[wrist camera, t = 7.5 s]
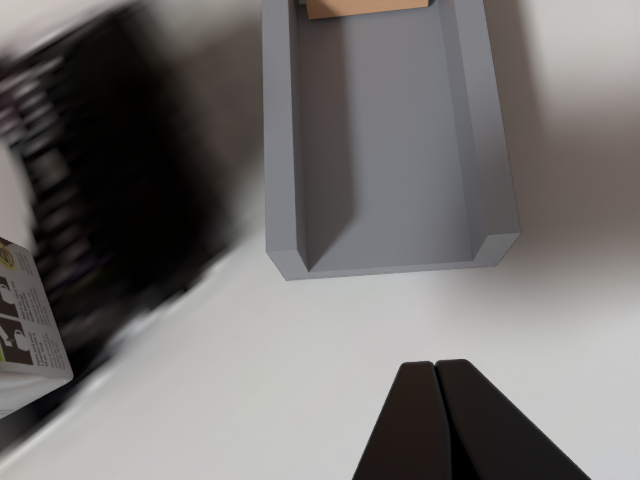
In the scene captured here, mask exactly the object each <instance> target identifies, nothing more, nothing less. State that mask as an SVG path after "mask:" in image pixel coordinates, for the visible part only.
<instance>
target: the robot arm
mask: <svg viewBox="0 0 640 480" xmlns="http://www.w3.org/2000/svg"><path fill="white" fill-rule="evenodd" d="M352 480H591V479H590V478H589V477H588V476H587V475H586V474H585V473H584V472H583V471H582V470H581V469H580V468H579V467H578V466H577V465H576V464H575V463H574V462H573V461H572V460H571V459H570V458H569V457H568V456H567V455H566V454H565V453H564V452H563V451H562V450H560V449H559V448H558V447H557V446H556V445H555V444H554V443H553V442H552V441H551V440H550V439H549V438H548V437H547V436H546V435H545V434H544V433H543V432H542V431H541V430H540V429H539V428H538V427H537V426H536V425H535V424H534V423H533V422H532V421H531V420H529V419H528V418H527V417H526V416H525V415H524V414H523V413H522V412H521V411H520V410H519V409H518V408H517V407H516V406H515V405H514V404H513V403H512V402H511V401H510V400H509V399H508V398H507V397H506V396H505V395H504V394H503V393H502V392H501V391H499V390H498V389H497V388H496V387H495V386H494V385H493V384H492V383H491V382H490V381H489V380H488V379H487V378H486V377H485V376H484V375H483V374H482V373H481V372H480V371H479V370H478V369H477V368H476V367H475V366H474V365H473V364H472V363H471V362H469V361H468V360H466V359H453V360H439V361H437V362H436V363H435V366H434V364H433V363H432V362H430V361H419V362H405V363H403V364H402V365H401V366H400V368H399V370H398V372H397V374H396V377H395V379H394V381H393V384H392V386H391V389H390V391H389V393H388V396H387V398H386V400H385V403H384V405H383V407H382V410H381V412H380V414H379V417H378V419H377V421H376V424H375V426H374V429H373V431H372V433H371V436H370V438H369V440H368V443H367V445H366V447H365V450H364V452H363V454H362V457H361V459H360V461H359V464H358V466H357V468H356V471H355V473H354V476H353V478H352Z"/></svg>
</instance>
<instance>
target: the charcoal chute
mask: <svg viewBox="0 0 640 480" xmlns="http://www.w3.org/2000/svg"><path fill="white" fill-rule="evenodd" d="M261 1H262V58H263V114H264V170H265V226H266V253H267V254H268V256H269V257H270V259H271V260H272V261H273V263H274V264H275V266H276V267H277V268H278V270H279V271H280V273H281V274H282V275H283V277H284V278H285V280H286V281H289V280H304V279H318V278H332V277H346V276H360V275H374V274H388V273H403V272H417V271H431V270H445V269H459V268H473V267H488V266H496V265H497V264H498V263H499V261H500V260H501V259H502V257H503V256H504V255H505V253H506V252H507V251H508V249H509V248H510V247H511V246H512V244H513V243H514V242H515V240H516V239H517V238H518V236H519V235H520V234H521V230H520V224H519V218H518V211H517V205H516V199H515V193H514V187H513V181H512V175H511V169H510V163H509V157H508V151H507V144H506V138H505V132H504V126H503V120H502V114H501V108H500V102H499V96H498V90H497V83H496V77H495V71H494V65H493V59H492V53H491V47H490V41H489V35H488V29H487V22H486V16H485V10H484V4H483V0H428V7H419V8H410V9H401V10H392V11H383V12H374V13H365V14H356V15H347V16H338V17H329V18H320V19H311V20H309V16H308V11H307V5H306V0H261Z"/></svg>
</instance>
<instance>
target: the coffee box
mask: <svg viewBox="0 0 640 480" xmlns="http://www.w3.org/2000/svg"><path fill="white" fill-rule="evenodd" d="M72 379H73V372H72V369H71V366H70V363H69V360H68V357H67V354H66V351H65V348H64V346H63V343H62V340H61V337H60V334H59V331H58V328H57V325H56V322H55V319H54V317H53V314H52V311H51V308H50V305H49V302H48V300H47V297H46V294H45V291H44V288H43V285H42V282H41V279H40V277H39V274H38V271H37V268H36V265H35V263H34V260H33V258H32V255H31V253H30V252H29V251H28V250H27V249H25V248H23V247H21V246H19V245H17V244H14V243H12V242H10V241H8V240H5V239H3V238H1V237H0V419H1V418H3V417H5V416H7V415H9V414H10V413H12V412H14V411H16V410H18V409H20V408H22V407H23V406H25V405H27V404H29V403H31V402H32V401H34V400H36V399H38V398H40V397H42V396H43V395H45V394H47V393H49V392H51V391H53V390H55V389H57V388H58V387H60V386H62V385H64V384H66V383H68V382H69V381H71V380H72Z"/></svg>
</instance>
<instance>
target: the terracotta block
mask: <svg viewBox="0 0 640 480" xmlns="http://www.w3.org/2000/svg"><path fill="white" fill-rule="evenodd" d="M306 5H307V11H308V16H309V20H311V19H320V18H329V17H338V16H347V15H356V14H365V13H374V12H383V11H392V10H401V9H410V8H419V7H428V0H306Z"/></svg>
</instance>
